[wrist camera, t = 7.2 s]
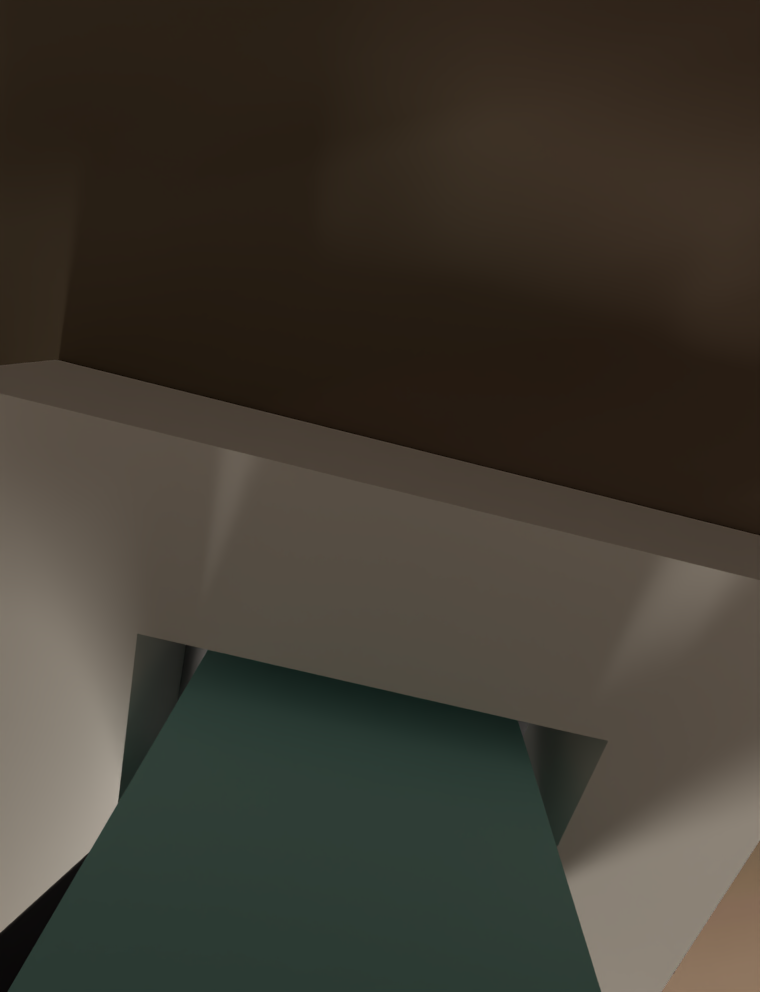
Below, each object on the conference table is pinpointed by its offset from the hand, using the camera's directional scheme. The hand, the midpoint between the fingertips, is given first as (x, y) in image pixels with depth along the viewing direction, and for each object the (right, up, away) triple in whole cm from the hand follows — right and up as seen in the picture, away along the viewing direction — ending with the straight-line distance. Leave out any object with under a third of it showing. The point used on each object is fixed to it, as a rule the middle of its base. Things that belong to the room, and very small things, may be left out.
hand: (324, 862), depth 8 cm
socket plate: (0, +1, +2) cm, 3 cm away
